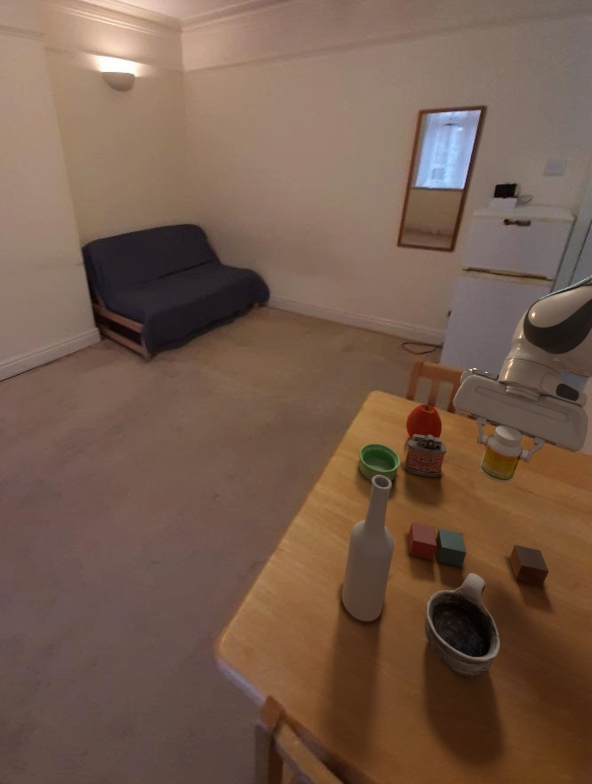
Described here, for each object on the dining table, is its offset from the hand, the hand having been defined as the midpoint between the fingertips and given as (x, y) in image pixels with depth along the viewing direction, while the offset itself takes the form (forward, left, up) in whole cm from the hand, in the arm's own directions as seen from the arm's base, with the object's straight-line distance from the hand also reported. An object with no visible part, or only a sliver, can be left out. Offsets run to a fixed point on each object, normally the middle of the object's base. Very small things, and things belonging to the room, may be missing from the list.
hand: (502, 452), depth 73 cm
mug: (+8, +23, -19) cm, 31 cm away
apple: (+8, -24, -19) cm, 32 cm away
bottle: (+22, +21, -19) cm, 37 cm away
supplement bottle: (0, -1, -6) cm, 6 cm away
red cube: (+12, +8, -19) cm, 24 cm away
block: (+7, +8, -19) cm, 22 cm away
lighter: (+9, -13, -19) cm, 25 cm away
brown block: (-6, +8, -19) cm, 22 cm away
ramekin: (+19, -10, -19) cm, 29 cm away
